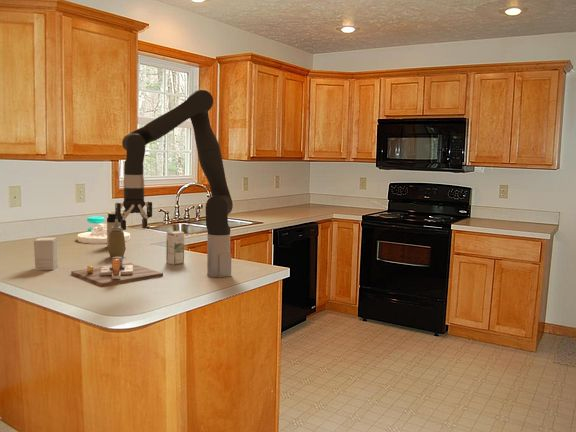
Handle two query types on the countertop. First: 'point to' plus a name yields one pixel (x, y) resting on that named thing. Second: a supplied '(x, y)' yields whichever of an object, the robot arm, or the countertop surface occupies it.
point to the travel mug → (111, 223)
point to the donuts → (94, 221)
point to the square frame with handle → (116, 270)
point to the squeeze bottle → (116, 241)
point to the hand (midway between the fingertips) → (134, 229)
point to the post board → (106, 280)
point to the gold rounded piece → (89, 269)
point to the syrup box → (175, 247)
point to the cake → (98, 235)
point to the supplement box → (45, 253)
